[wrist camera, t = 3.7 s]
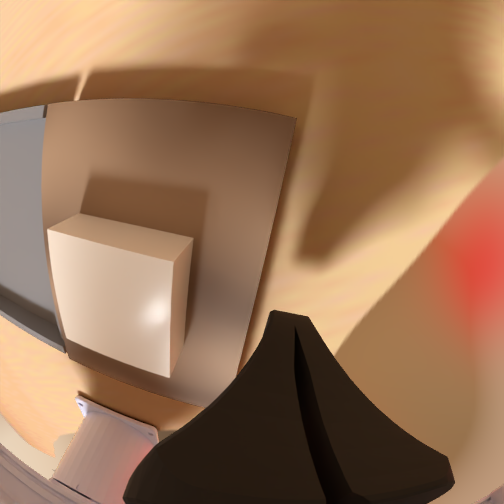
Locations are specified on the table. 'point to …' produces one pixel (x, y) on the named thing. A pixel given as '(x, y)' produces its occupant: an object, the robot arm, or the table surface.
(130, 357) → the tile
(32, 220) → the tray
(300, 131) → the table surface
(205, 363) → the board
